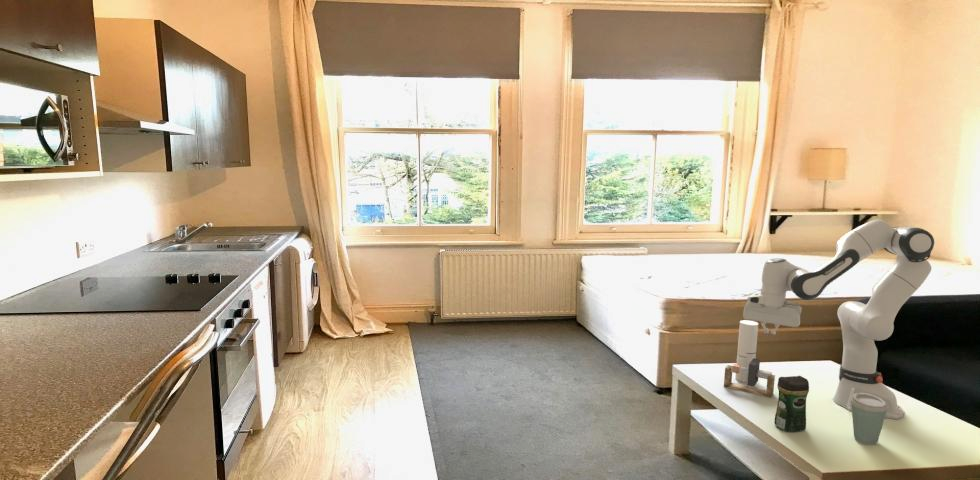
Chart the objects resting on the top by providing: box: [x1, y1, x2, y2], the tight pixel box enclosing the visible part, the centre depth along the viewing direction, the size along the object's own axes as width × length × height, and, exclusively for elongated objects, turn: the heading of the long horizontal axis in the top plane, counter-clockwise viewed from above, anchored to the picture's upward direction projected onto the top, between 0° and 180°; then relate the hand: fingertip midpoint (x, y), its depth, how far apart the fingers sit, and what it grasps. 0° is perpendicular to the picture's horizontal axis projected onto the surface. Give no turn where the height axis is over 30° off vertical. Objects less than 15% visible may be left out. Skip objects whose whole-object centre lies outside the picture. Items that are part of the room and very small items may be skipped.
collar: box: [746, 358, 761, 388], centre depth 230 cm, size 2×8×9 cm, turn 144°
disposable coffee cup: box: [850, 393, 888, 446], centre depth 190 cm, size 11×11×15 cm
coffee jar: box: [774, 375, 810, 433], centre depth 199 cm, size 10×8×19 cm
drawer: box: [723, 364, 776, 398], centre depth 231 cm, size 18×4×8 cm, turn 54°
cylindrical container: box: [735, 319, 759, 383], centre depth 242 cm, size 7×7×25 cm
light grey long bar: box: [728, 363, 773, 380], centre depth 231 cm, size 16×3×3 cm, turn 54°
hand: (769, 333), depth 225 cm, fingers closed
